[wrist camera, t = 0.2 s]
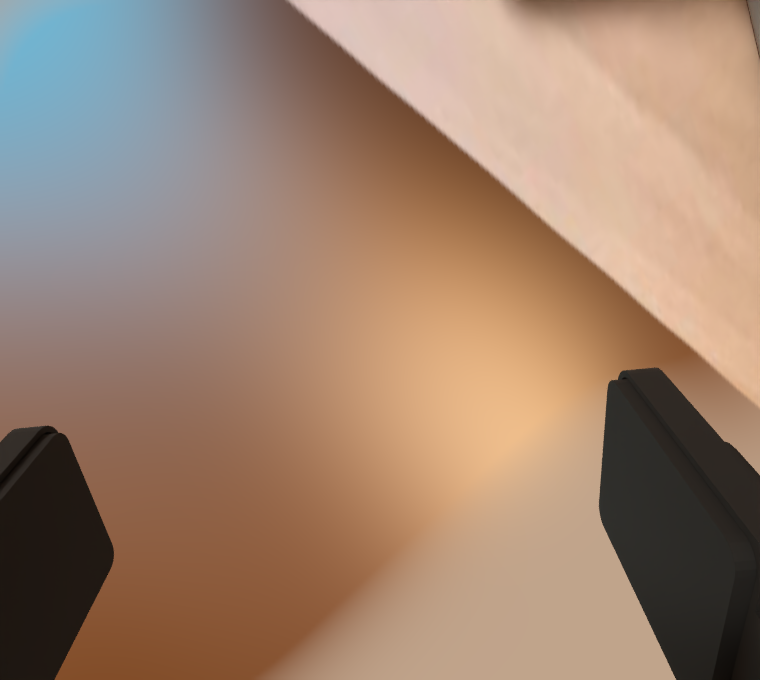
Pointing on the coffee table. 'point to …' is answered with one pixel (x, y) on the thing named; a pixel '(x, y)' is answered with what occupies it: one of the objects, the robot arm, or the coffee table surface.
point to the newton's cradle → (755, 19)
